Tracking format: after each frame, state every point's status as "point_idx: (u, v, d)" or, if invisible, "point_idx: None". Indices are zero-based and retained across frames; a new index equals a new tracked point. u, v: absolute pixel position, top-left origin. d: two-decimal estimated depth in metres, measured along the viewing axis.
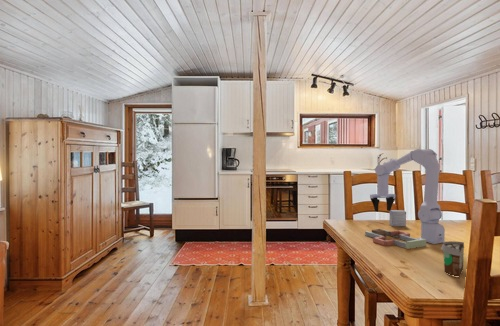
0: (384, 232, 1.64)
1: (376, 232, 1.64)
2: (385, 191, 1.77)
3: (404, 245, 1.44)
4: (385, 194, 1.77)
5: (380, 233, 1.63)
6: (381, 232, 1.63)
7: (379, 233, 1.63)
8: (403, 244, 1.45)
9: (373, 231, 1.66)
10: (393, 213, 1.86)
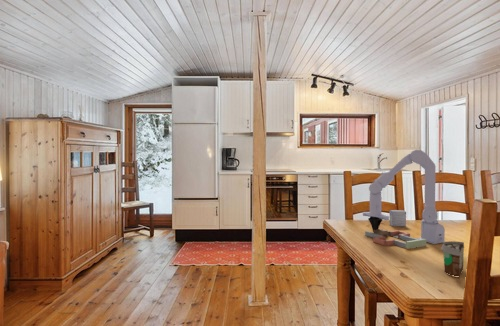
0: (386, 232, 1.63)
1: (378, 232, 1.63)
2: (371, 210, 1.66)
3: (404, 245, 1.44)
4: (371, 213, 1.66)
5: (382, 233, 1.62)
6: (383, 232, 1.63)
7: (381, 233, 1.62)
8: (403, 244, 1.45)
9: (375, 231, 1.64)
10: (393, 213, 1.86)
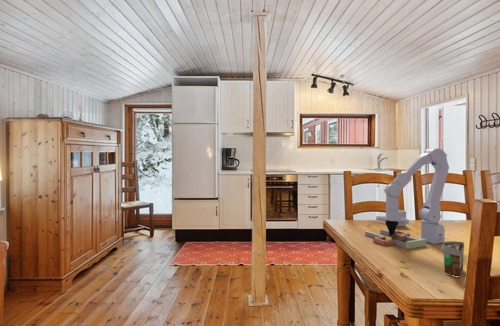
0: (405, 237, 1.53)
1: (397, 237, 1.52)
2: (390, 214, 1.55)
3: (404, 245, 1.44)
4: (390, 218, 1.55)
5: (401, 238, 1.52)
6: (402, 237, 1.52)
7: (400, 238, 1.52)
8: (403, 244, 1.45)
9: (393, 236, 1.54)
10: None
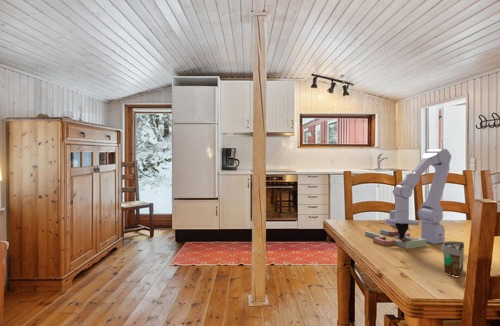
0: None
1: None
2: (402, 217, 1.50)
3: (404, 245, 1.44)
4: (402, 220, 1.50)
5: None
6: None
7: None
8: (403, 244, 1.45)
9: (403, 240, 1.49)
10: (393, 213, 1.86)
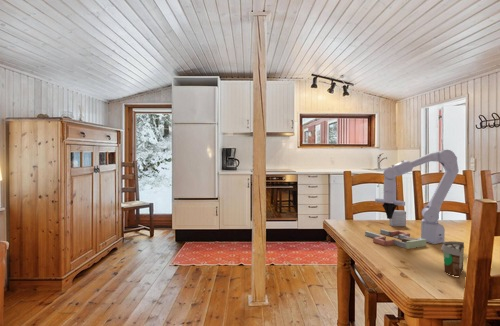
0: None
1: None
2: (386, 196, 1.60)
3: (404, 245, 1.44)
4: (386, 200, 1.60)
5: None
6: None
7: None
8: (403, 244, 1.45)
9: (404, 240, 1.49)
10: (393, 213, 1.86)
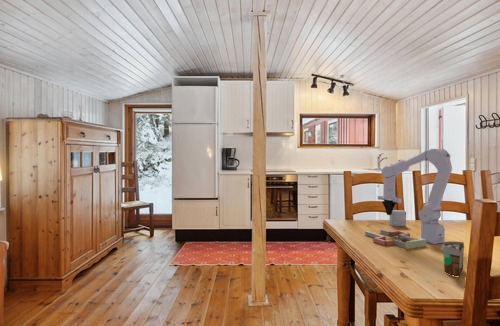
0: None
1: None
2: (384, 193, 1.71)
3: (404, 245, 1.44)
4: (384, 197, 1.71)
5: None
6: None
7: None
8: (403, 244, 1.45)
9: (404, 240, 1.49)
10: (393, 213, 1.86)
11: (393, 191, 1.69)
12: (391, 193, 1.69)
